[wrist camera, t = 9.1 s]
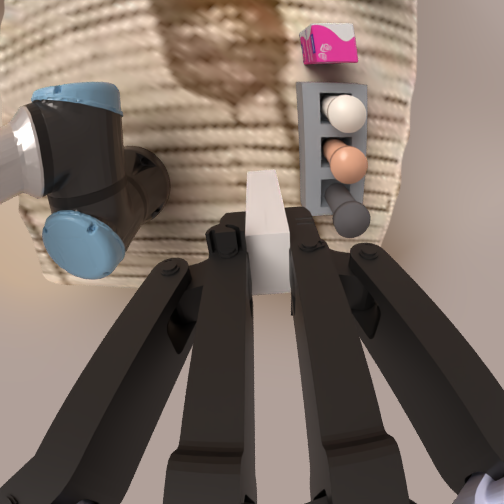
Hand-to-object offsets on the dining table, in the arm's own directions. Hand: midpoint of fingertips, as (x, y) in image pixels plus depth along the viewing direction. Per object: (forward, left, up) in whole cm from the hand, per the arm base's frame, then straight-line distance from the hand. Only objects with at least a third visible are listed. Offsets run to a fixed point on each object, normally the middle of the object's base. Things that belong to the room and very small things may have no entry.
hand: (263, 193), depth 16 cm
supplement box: (+11, +11, -35) cm, 38 cm away
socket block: (+12, -6, -34) cm, 37 cm away
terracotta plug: (+12, -6, -31) cm, 34 cm away
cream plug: (+12, +1, -32) cm, 34 cm away
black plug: (+12, -13, -28) cm, 33 cm away
